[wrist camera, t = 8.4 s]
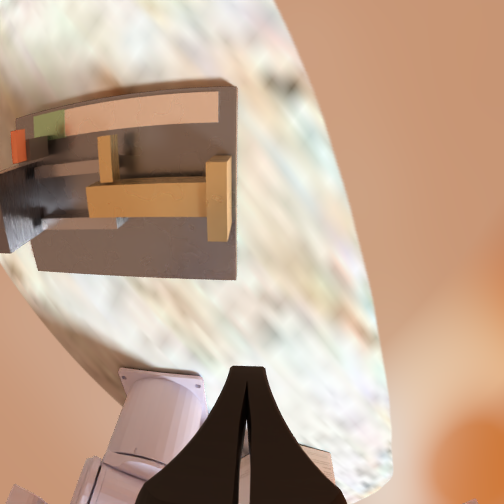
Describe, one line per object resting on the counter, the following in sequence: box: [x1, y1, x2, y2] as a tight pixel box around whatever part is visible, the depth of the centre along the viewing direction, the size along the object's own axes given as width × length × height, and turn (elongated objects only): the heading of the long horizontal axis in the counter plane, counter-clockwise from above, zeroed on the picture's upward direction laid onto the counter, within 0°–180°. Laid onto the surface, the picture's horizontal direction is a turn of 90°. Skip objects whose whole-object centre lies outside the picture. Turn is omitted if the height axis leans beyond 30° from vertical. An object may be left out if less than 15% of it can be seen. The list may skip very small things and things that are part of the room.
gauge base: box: [0, 87, 238, 280], centre depth 17 cm, size 12×16×5 cm
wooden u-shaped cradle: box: [86, 134, 232, 242], centre depth 16 cm, size 6×8×3 cm
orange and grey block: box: [11, 129, 49, 164], centre depth 15 cm, size 2×1×3 cm, turn 179°
